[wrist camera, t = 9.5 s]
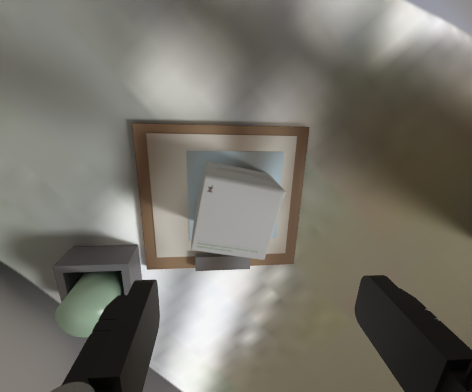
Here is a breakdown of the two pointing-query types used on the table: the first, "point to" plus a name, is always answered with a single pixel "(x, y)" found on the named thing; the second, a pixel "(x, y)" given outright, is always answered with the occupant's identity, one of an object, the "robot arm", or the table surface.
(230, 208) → the small box
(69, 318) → the button
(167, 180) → the picture frame
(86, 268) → the button housing
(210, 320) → the table surface
